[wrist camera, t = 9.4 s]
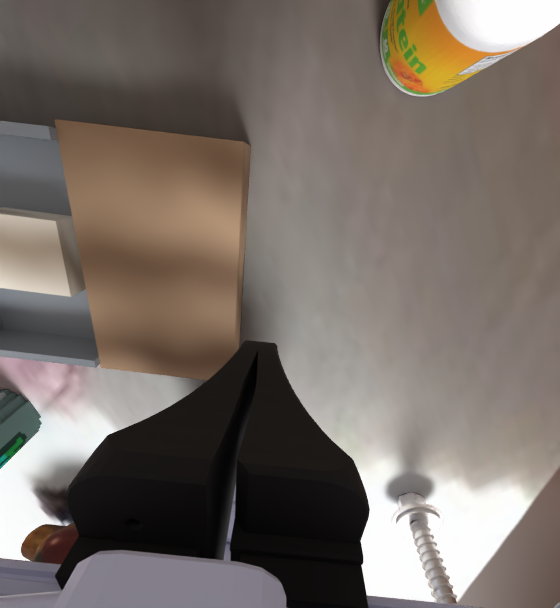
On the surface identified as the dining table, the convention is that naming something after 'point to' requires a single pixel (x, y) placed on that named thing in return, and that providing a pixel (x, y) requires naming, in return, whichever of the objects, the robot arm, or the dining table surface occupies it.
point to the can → (15, 424)
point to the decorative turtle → (49, 543)
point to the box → (31, 305)
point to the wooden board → (159, 244)
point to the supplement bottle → (456, 38)
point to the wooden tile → (39, 253)
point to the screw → (424, 541)
